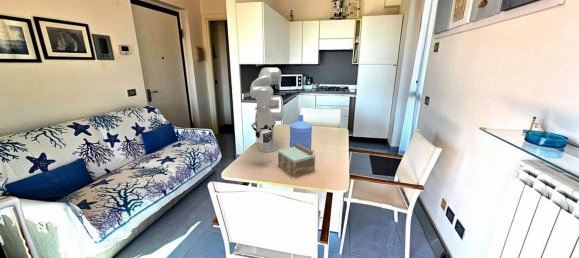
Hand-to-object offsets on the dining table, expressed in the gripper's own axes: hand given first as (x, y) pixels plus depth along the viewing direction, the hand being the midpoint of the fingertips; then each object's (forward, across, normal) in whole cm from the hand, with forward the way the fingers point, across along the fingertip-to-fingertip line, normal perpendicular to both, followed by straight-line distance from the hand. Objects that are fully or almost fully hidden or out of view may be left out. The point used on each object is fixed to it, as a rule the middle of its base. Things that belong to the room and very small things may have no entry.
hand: (264, 136), depth 148 cm
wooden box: (+19, +14, -16) cm, 28 cm away
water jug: (+19, +31, +4) cm, 37 cm away
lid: (+10, +14, -16) cm, 23 cm away
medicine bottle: (+4, 0, 0) cm, 4 cm away
